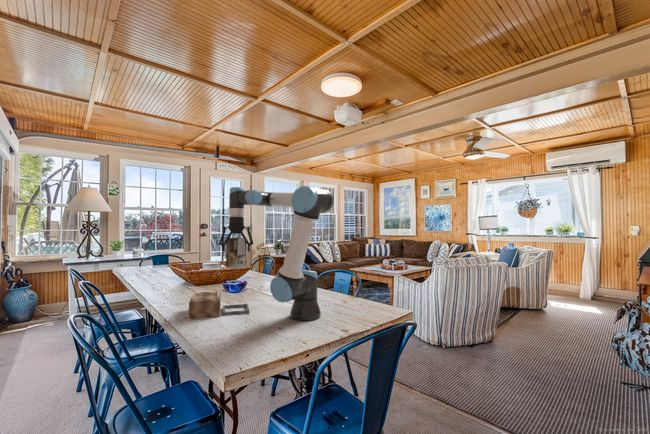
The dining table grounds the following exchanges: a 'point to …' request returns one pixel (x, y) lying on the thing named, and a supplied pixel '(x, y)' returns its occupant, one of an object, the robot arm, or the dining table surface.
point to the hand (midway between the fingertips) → (236, 258)
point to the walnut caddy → (210, 305)
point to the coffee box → (236, 253)
